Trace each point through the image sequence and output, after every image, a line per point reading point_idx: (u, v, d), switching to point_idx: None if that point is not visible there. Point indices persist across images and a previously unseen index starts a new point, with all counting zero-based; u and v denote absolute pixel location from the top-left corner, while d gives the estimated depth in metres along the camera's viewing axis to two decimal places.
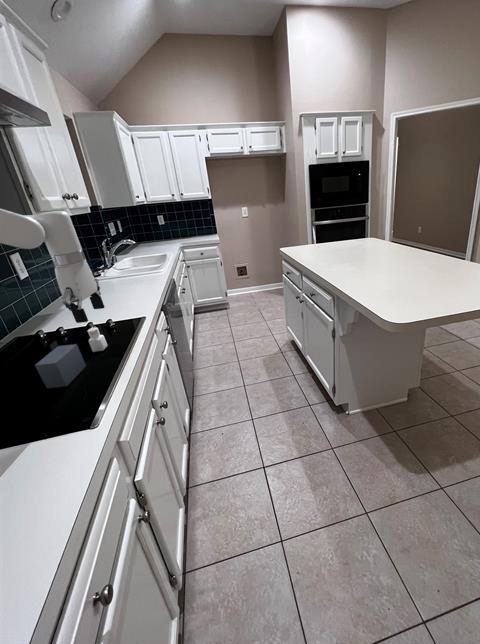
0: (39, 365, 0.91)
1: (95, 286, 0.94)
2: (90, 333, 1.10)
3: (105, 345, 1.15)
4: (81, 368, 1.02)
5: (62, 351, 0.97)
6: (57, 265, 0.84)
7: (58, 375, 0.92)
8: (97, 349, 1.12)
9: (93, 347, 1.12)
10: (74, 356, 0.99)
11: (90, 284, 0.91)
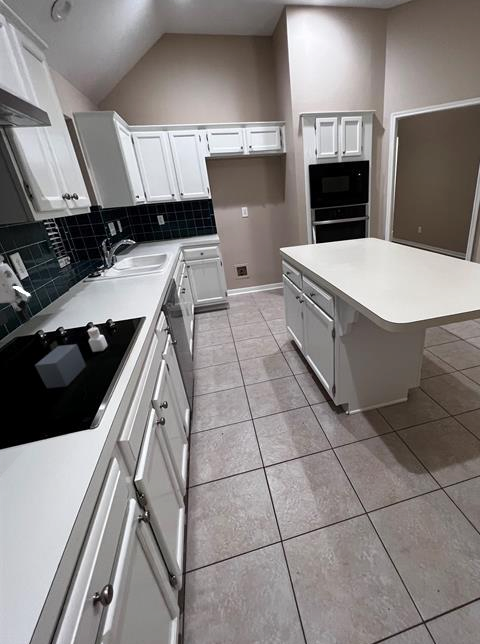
0: (39, 365, 0.91)
1: (7, 297, 0.85)
2: (90, 333, 1.10)
3: (105, 345, 1.15)
4: (81, 368, 1.02)
5: (62, 351, 0.97)
6: None
7: (58, 375, 0.92)
8: (97, 349, 1.12)
9: (93, 347, 1.12)
10: (74, 356, 0.99)
11: None
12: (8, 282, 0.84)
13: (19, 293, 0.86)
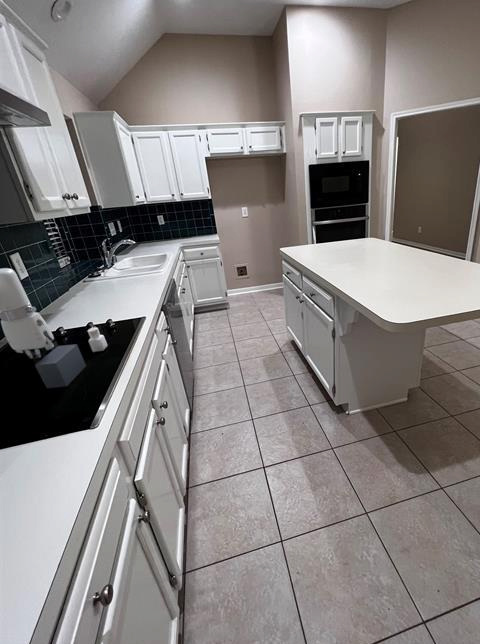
0: (39, 365, 0.91)
1: (39, 343, 0.92)
2: (90, 333, 1.10)
3: (105, 345, 1.15)
4: (81, 368, 1.02)
5: (62, 351, 0.97)
6: None
7: (58, 375, 0.92)
8: (97, 349, 1.12)
9: (93, 347, 1.12)
10: (74, 356, 0.99)
11: (28, 341, 0.91)
12: (40, 330, 0.91)
13: (48, 345, 0.94)
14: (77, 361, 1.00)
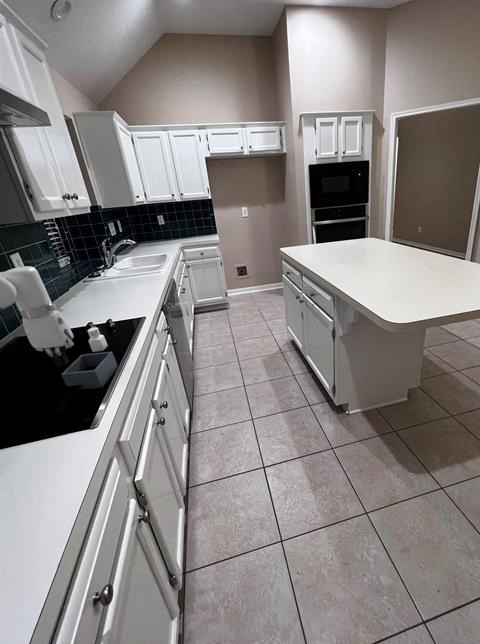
0: (95, 374, 0.93)
1: (59, 342, 0.92)
2: (90, 333, 1.10)
3: (105, 345, 1.15)
4: None
5: (110, 368, 1.00)
6: None
7: (87, 386, 0.95)
8: (97, 349, 1.12)
9: (93, 347, 1.12)
10: None
11: (48, 339, 0.91)
12: (60, 328, 0.91)
13: (68, 343, 0.94)
14: None
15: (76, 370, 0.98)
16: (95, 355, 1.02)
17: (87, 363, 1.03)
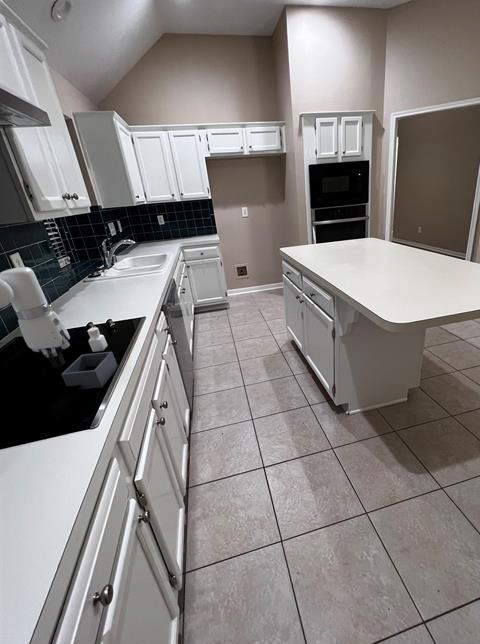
0: (95, 374, 0.93)
1: (55, 343, 0.92)
2: (90, 333, 1.10)
3: (105, 345, 1.15)
4: None
5: (110, 368, 1.00)
6: None
7: (87, 386, 0.95)
8: (97, 349, 1.12)
9: (93, 347, 1.12)
10: None
11: (44, 340, 0.91)
12: (56, 329, 0.91)
13: (64, 344, 0.94)
14: None
15: (76, 370, 0.98)
16: (95, 355, 1.02)
17: (87, 363, 1.03)
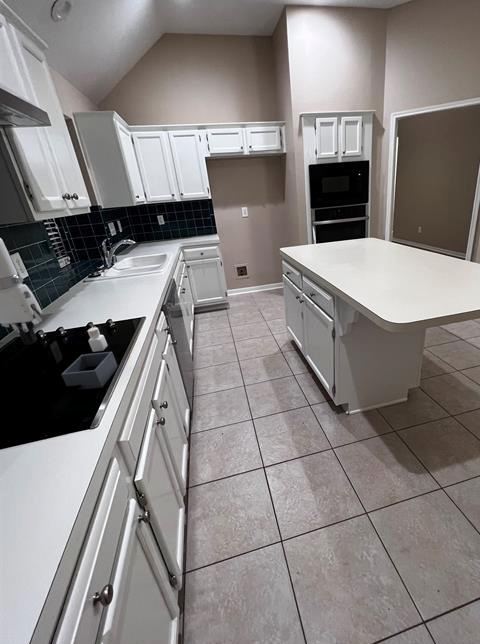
0: (95, 374, 0.93)
1: (25, 317, 0.87)
2: (90, 333, 1.10)
3: (105, 345, 1.15)
4: None
5: (110, 368, 1.00)
6: None
7: (87, 386, 0.95)
8: (97, 349, 1.12)
9: (93, 347, 1.12)
10: None
11: (14, 313, 0.87)
12: (27, 302, 0.87)
13: (36, 319, 0.89)
14: None
15: (76, 370, 0.98)
16: (95, 355, 1.02)
17: (87, 363, 1.03)
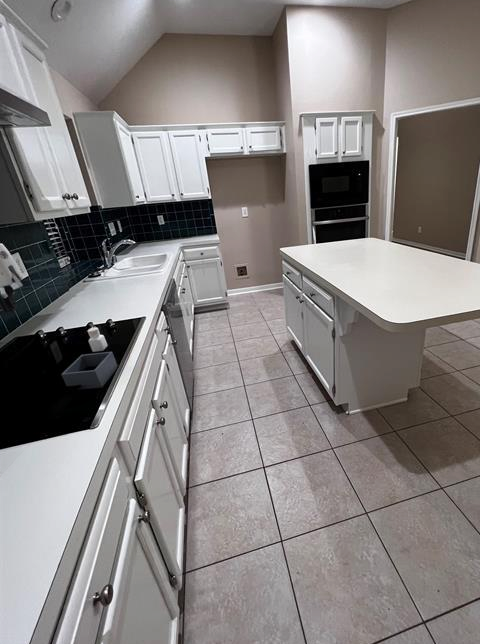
0: (95, 374, 0.93)
1: (3, 280, 0.78)
2: (90, 333, 1.10)
3: (105, 345, 1.15)
4: None
5: (110, 368, 1.00)
6: None
7: (87, 386, 0.95)
8: (97, 349, 1.12)
9: (93, 347, 1.12)
10: None
11: None
12: (4, 263, 0.77)
13: (15, 283, 0.80)
14: None
15: (76, 370, 0.98)
16: (95, 355, 1.02)
17: (87, 363, 1.03)
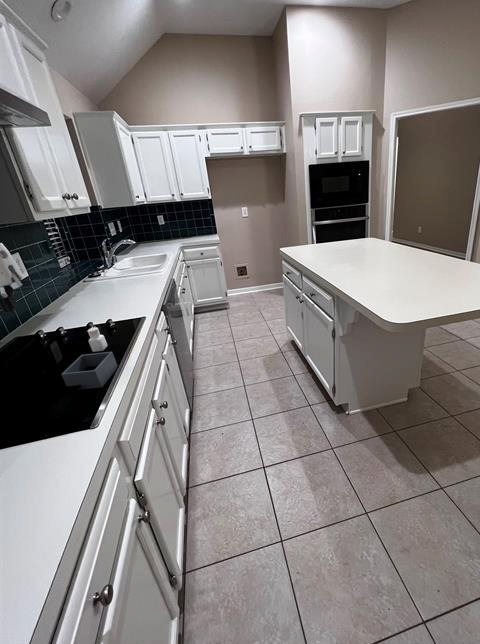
0: (95, 374, 0.93)
1: (3, 279, 0.78)
2: (90, 333, 1.10)
3: (105, 345, 1.15)
4: None
5: (110, 368, 1.00)
6: None
7: (87, 386, 0.95)
8: (97, 349, 1.12)
9: (93, 347, 1.12)
10: None
11: None
12: (3, 263, 0.77)
13: (15, 282, 0.80)
14: None
15: (76, 370, 0.98)
16: (95, 355, 1.02)
17: (87, 363, 1.03)
